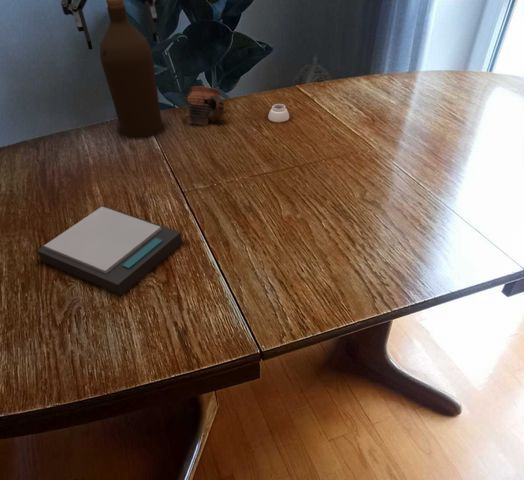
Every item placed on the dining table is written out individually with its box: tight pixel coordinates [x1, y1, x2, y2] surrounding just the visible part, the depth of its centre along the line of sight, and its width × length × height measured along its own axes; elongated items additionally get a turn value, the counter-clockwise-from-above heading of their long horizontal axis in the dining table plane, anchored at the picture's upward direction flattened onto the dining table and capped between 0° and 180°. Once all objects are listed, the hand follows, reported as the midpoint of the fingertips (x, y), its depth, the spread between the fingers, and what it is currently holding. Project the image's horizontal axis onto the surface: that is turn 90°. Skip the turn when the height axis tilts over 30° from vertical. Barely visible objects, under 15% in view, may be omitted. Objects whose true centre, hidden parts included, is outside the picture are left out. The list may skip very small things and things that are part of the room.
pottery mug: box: [184, 85, 225, 127], centre depth 109 cm, size 12×10×8 cm
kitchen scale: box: [36, 205, 184, 297], centre depth 75 cm, size 17×15×3 cm
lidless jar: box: [267, 103, 290, 123], centre depth 109 cm, size 5×3×5 cm
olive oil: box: [99, 0, 163, 139], centre depth 98 cm, size 11×11×25 cm
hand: (123, 41), depth 97 cm, fingers open, 13 cm apart
